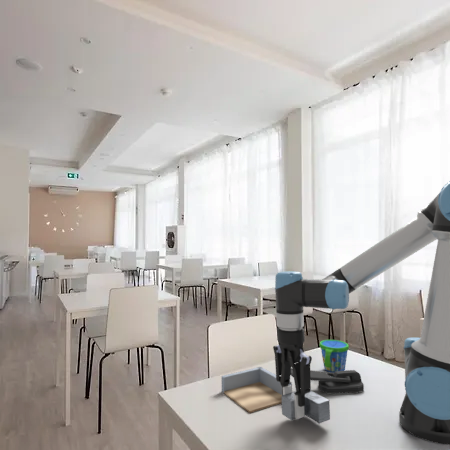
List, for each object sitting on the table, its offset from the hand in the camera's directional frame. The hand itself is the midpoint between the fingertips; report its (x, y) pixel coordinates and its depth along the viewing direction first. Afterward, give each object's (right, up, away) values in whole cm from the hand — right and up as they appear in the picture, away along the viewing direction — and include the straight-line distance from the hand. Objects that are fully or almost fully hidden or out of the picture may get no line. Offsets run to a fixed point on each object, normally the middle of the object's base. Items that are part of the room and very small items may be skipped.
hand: (293, 413), depth 93 cm
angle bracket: (+3, 0, -1) cm, 3 cm away
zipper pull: (+15, -3, +20) cm, 25 cm away
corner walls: (-9, -3, +16) cm, 18 cm away
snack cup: (+23, -4, +36) cm, 43 cm away
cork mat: (-9, -3, +15) cm, 18 cm away
